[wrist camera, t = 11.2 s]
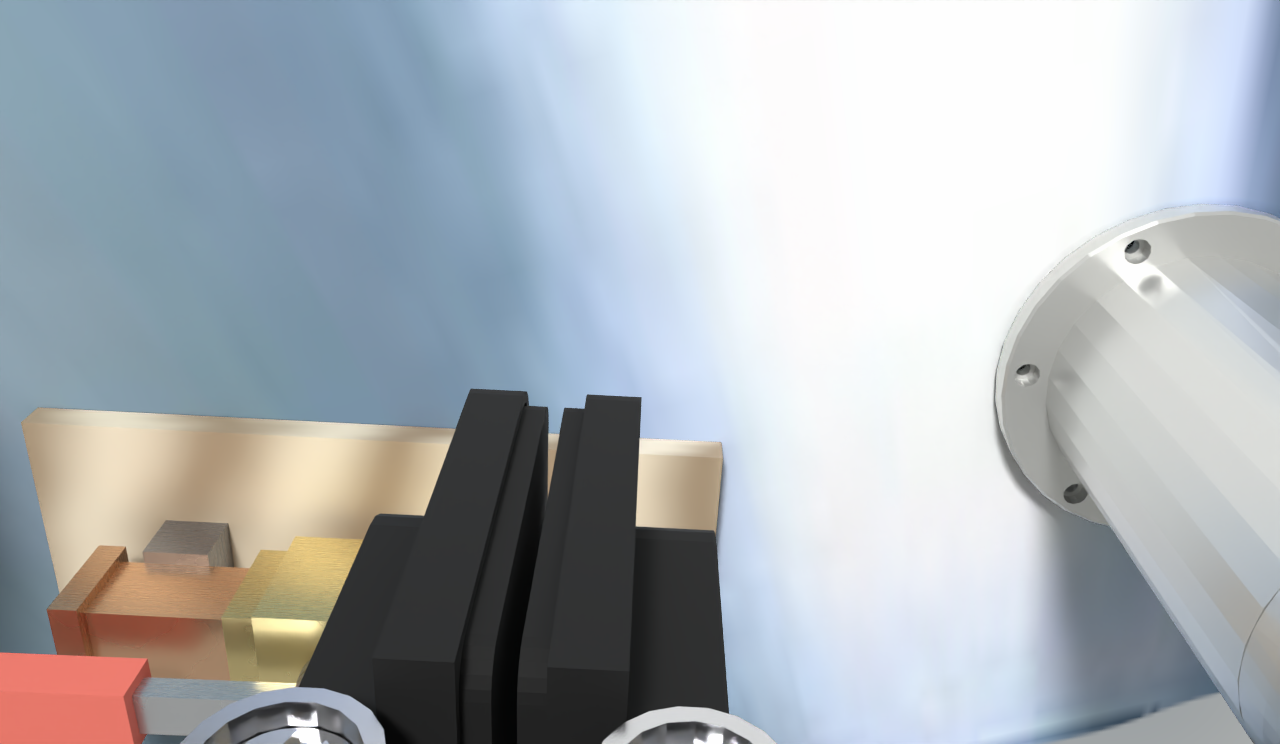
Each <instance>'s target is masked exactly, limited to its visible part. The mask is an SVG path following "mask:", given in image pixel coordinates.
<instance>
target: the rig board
mask: <svg viewBox="0 0 1280 744" xmlns="http://www.w3.org/2000/svg"><path fill="white" fill-rule="evenodd" d="M21 424H22V429H23V433H24V438H25V442H26V447H27V451H28V455H29V460H30V464H31V469H32V473H33V478H34V482H35V486H36V491H37V495H38V500H39V504H40V509H41V513H42V517H43V522H44V526H45V531H46V535H47V540H48V544H49V548H50V553H51V557H52V562H53V566H54V571H55V575H56V579H57V584H58V588H59V593H60V592H61V591H62V590H63V589H64V588H65V586H66V585H67V584H68V583H69V581H70V580H71V579H72V578H73V577H74V575H75V574H76V573H77V572H78V570H79V569H80V568H81V567H82V566H83V564H84V563H85V562H86V561H87V559H88V558H89V557H90V556H91V555H92V553H93V552H94V551H95V550H96V548H97V547H98V546H99V545H104V546H124V547H126V550H127V555H128V560H129V562H136V563H144V558H143V553H142V552H143V550H144V549H145V547H146V546H147V545H148V543H149V542H150V541H151V539H152V538H153V537H154V535H155V534H156V533H157V531H158V530H159V529H160V527H161V526H162V525H163V523H164V522H165V521H166V520H173V521H192V522H212V523H228V526H229V533H230V541H231V548H232V555H233V562H234V567H235V568H250V567H251V566H252V564H253V562H254V560H255V559H256V557H257V555H258V554H259V552H260V550H278V551H288V549H289V547H290V545H291V543H292V541H293V539H294V538H295V536H301V537H321V538H340V539H360V540H363V539H364V537H365V535H366V533H367V530H368V528H369V526H370V524H371V522H372V521H373V519H374V517H375V516H376V515H378V514H380V513H382V514H402V515H421V516H424V515H425V512H426V509H427V506H428V504H429V501H430V498H431V495H432V493H433V490H434V487H435V484H436V482H437V479H438V476H439V473H440V471H441V468H442V465H443V462H444V460H445V457H446V454H447V451H448V449H449V446H450V443H451V441H452V438H453V435H454V432H455V430H456V429H449V428H430V427H410V426H390V425H371V424H351V423H331V422H312V421H292V420H272V419H253V418H233V417H213V416H194V415H174V414H154V413H134V412H115V411H95V410H75V409H56V408H37V409H36V410H35V411H34V412H32V413H31V414H30V415H29V416H28V417H27V418H26V419H24V420H23V421H22V422H21ZM558 439H559V434H548V494H549V489H550V483H551V478H552V472H553V467H554V461H555V456H556V450H557V445H558ZM722 461H723V455H722V445H721V442H705V441H686V440H666V439H646V438H640V441H639V464H638V486H637V509H636V526H638V527H658V528H678V529H697V530H714V532H715V536H716V527H717V516H718V505H719V494H720V483H721V472H722Z"/></svg>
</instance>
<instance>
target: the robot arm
mask: <svg viewBox="0 0 1280 744" xmlns="http://www.w3.org/2000/svg"><path fill="white" fill-rule="evenodd" d="M1132 241H1134V244H1133V246H1132V247H1131V248H1129V249H1126V247H1127V245H1128V244H1129V243H1131V242H1132ZM1125 249H1126V250H1125ZM1023 365H1026V366H1025V368H1023V369H1022V370H1018V369H1019V368H1020V367H1021V366H1023ZM995 402H996V407H997V413H998V419H999V425H1000V429H1001V431H1002V434H1003V436H1004V438H1005V441H1006V443H1007V445H1008V448H1009V450H1010V452H1011V454H1012V456H1013V457H1014V459H1015V460H1016V462H1017V464H1018V465H1019V467H1020V468H1021V470H1022V472H1023V473H1024V475H1025V476H1026V477H1027V478H1028V479H1029V481H1030V482H1031V483H1032V484H1033V485H1034V486H1035V487H1036V488H1037V489H1038V490H1039V491H1040V492H1041V493H1042V495H1044V496H1045V497H1046V498H1048V499H1049V500H1050V501H1052V502H1053V503H1054V504H1056V505H1057V506H1059V507H1060V508H1062V509H1063V510H1065V511H1067V512H1069V513H1072V514H1074V515H1076V516H1079V517H1081V518H1083V519H1086V520H1088V521H1090V522H1093V523H1097V524H1101V525H1106V526H1110V527H1111V528H1112V530H1113V531H1114V533H1115V534H1116V536H1117V538H1118V539H1119V541H1120V542H1121V544H1122V545H1123V547H1124V548H1125V550H1126V551H1127V553H1128V554H1129V556H1130V557H1131V559H1132V560H1133V562H1134V563H1135V565H1136V566H1137V568H1138V569H1139V571H1140V572H1141V574H1142V575H1143V577H1144V578H1145V580H1146V581H1147V583H1148V584H1149V586H1150V588H1151V589H1152V591H1153V592H1154V594H1155V595H1156V597H1157V598H1158V600H1159V601H1160V603H1161V604H1162V606H1163V607H1164V609H1165V610H1166V612H1167V613H1168V615H1169V616H1170V618H1171V619H1172V621H1173V622H1174V624H1175V625H1176V627H1177V628H1178V630H1179V631H1180V633H1181V634H1182V636H1183V637H1184V639H1185V641H1186V642H1187V644H1188V645H1189V647H1190V648H1191V650H1192V651H1193V653H1194V654H1195V656H1196V657H1197V659H1198V660H1199V662H1200V663H1201V665H1202V666H1203V668H1204V669H1205V671H1206V672H1207V674H1208V675H1209V677H1210V678H1211V680H1212V681H1213V683H1214V684H1215V686H1216V687H1217V689H1218V691H1219V692H1220V694H1221V695H1222V696H1223V698H1224V700H1225V701H1226V702H1227V704H1228V706H1229V707H1230V709H1231V710H1232V712H1233V713H1234V714H1235V716H1236V718H1237V719H1238V721H1239V722H1240V724H1241V725H1242V727H1243V728H1244V730H1245V731H1246V733H1247V734H1248V736H1249V737H1250V739H1251V740H1252V742H1253V743H1254V744H1280V218H1278V217H1276V216H1274V215H1272V214H1269V213H1265V212H1261V211H1257V210H1253V209H1249V208H1245V207H1241V206H1237V205H1217V204H1196V205H1188V206H1180V207H1173V208H1165V209H1162V210H1159V211H1155V212H1152V213H1149V214H1145V215H1142V216H1139V217H1136V218H1132V219H1129V220H1127V221H1125V222H1123V223H1121V224H1119V225H1117V226H1115V227H1113V228H1111V229H1109V230H1107V231H1105V232H1103V233H1101V234H1099V235H1097V236H1095V237H1093V238H1092V239H1091V240H1089V241H1088V242H1086V243H1085V244H1084V245H1082V246H1081V247H1079V248H1078V249H1076V250H1075V251H1074V252H1072V253H1071V254H1069V255H1068V256H1067V257H1065V258H1064V259H1063V260H1062V261H1061V262H1060V263H1059V264H1058V265H1057V266H1056V267H1055V268H1054V269H1053V270H1052V271H1051V272H1050V273H1049V274H1048V275H1047V276H1046V277H1045V278H1044V279H1043V280H1042V281H1041V282H1040V283H1039V284H1038V285H1037V287H1036V288H1035V289H1034V291H1033V292H1032V294H1031V295H1030V296H1029V298H1028V299H1027V300H1026V302H1025V303H1024V305H1023V306H1022V307H1021V309H1020V310H1019V312H1018V314H1017V316H1016V318H1015V320H1014V322H1013V324H1012V326H1011V328H1010V330H1009V333H1008V335H1007V337H1006V339H1005V341H1004V345H1003V349H1002V352H1001V356H1000V360H999V364H998V368H997V374H996V395H995ZM640 419H641V397H623V396H604V395H587V397H586V403H585V409H577V408H564V412H563V418H562V423H561V428H560V434H559V439H558V445H557V450H556V456H555V461H554V467H553V472H552V478H551V483H550V489H549V494H548V425H549V422H548V407H538V406H529V401H528V394H527V392H525V391H505V390H486V389H471V390H470V392H469V394H468V397H467V399H466V402H465V405H464V408H463V410H462V413H461V416H460V419H459V421H458V424H457V427H456V430H455V432H454V435H453V438H452V441H451V443H450V446H449V449H448V451H447V454H446V457H445V460H444V462H443V465H442V468H441V471H440V473H439V476H438V479H437V482H436V484H435V487H434V490H433V493H432V495H431V498H430V501H429V504H428V506H427V509H426V512H425V515H424V516H421V515H402V514H382V513H380V514H378V515H376V516H375V517H374V519H373V521H372V522H371V524H370V526H369V528H368V530H367V533H366V535H365V537H364V539H363V542H362V544H361V546H360V549H359V551H358V553H357V555H356V558H355V560H354V562H353V564H352V567H351V569H350V571H349V574H348V576H347V578H346V580H345V583H344V585H343V587H342V589H341V592H340V594H339V596H338V599H337V601H336V603H335V605H334V608H333V610H332V612H331V614H330V617H329V619H328V621H327V624H326V626H325V628H324V630H323V633H322V635H321V637H320V639H319V642H318V644H317V646H316V649H315V651H314V653H313V655H312V658H311V660H310V662H309V664H308V667H307V669H306V671H305V673H304V676H303V678H302V680H301V683H300V685H299V687H291V688H285V689H279V690H272V691H266V692H261V693H258V694H255V695H253V696H250V697H247V698H245V699H242V700H239V701H237V702H234V703H231V704H229V705H228V706H226V707H224V708H223V709H221V710H220V711H218V712H216V713H215V714H213V715H212V716H210V717H208V718H207V719H205V720H203V721H202V722H201V723H200V724H199V725H198V726H197V727H196V728H195V729H194V730H193V731H192V732H191V733H190V734H189V735H188V736H187V737H186V738H185V739H184V740H183V741H182V742H181V743H180V744H777V743H776V742H775V741H774V740H773V739H772V738H771V737H770V736H769V735H768V734H767V733H765V732H764V731H763V730H761V729H759V728H758V727H756V726H754V725H752V724H750V723H749V722H747V721H745V720H743V719H741V718H740V717H738V716H734V715H731V714H729V708H728V694H727V681H726V667H725V654H724V640H723V627H722V613H721V599H720V586H719V572H718V559H717V545H716V536H715V532H714V530H697V529H678V528H658V527H638V526H636V509H637V486H638V464H639V441H640Z"/></svg>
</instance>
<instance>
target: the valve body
mask: <svg viewBox="0 0 1280 744" xmlns="http://www.w3.org/2000/svg"><path fill="white" fill-rule="evenodd" d="M362 542H363V540H360V539H340V538H321V537H301V536H295V538H294V539H293V541H292V543H291V545H290V547H289V549H288V551H278V550H260V552H259V554H258V555H257V557H256V559H255V560H254V562H253V564H252V566H251V567H250V568H235V567H234V562H233V555H232V548H231V541H230V533H229V526H228V523H212V522H192V521H173V520H166V521H165V522H164V523H163V525H162V526H161V527H160V529H159V530H158V531H157V533H156V534H155V535H154V537H153V538H152V539H151V541H150V542H149V543H148V545H147V546H146V547H145V549H144V550H143V552H142V553H143V558H144V563H136V562H129V560H128V555H127V550H126V547H124V546H104V545H99V546H98V547H97V548H96V550H95V551H94V552H93V553H92V555H91V556H90V557H89V558H88V559H87V561H86V562H85V563H84V564H83V566H82V567H81V568H80V569H79V570H78V572H77V573H76V574H75V575H74V577H73V578H72V579H71V580H70V581H69V583H68V584H67V585H66V586H65V588H64V589H63V590H62V591H61V592H60V594H59V595H58V596H57V597H56V599H55V600H54V601H53V602H52V603H51V605H50V606H49V607H48V608H47V613H48V617H49V621H50V626H51V630H52V634H53V638H54V643H55V647H56V651H57V655H71V656H96V657H121V658H145V659H148V663H149V668H150V673H151V677H152V678H176V679H200V680H225V681H250V682H274V683H296V681H297V679H298V677H299V674H300V672H301V670H302V668H303V667H304V665H305V664H306V663H307V662H308V661H309V660H311V658H312V655H313V653H314V651H315V649H316V646H317V644H318V642H319V639H320V637H321V635H322V633H323V630H324V628H325V626H326V624H327V621H328V619H329V617H330V614H331V612H332V610H333V608H334V605H335V603H336V601H337V599H338V596H339V594H340V592H341V589H342V587H343V585H344V583H345V580H346V578H347V576H348V574H349V571H350V569H351V567H352V564H353V562H354V560H355V558H356V555H357V553H358V551H359V549H360V546H361V544H362Z"/></svg>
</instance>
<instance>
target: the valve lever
mask: <svg viewBox="0 0 1280 744" xmlns="http://www.w3.org/2000/svg"><path fill="white" fill-rule="evenodd" d="M309 662H310V660H309V661H308V662H307V663H306V664H305V665H304V667H303V668H302V670H301V672H300V674H299V677H298V679H297V681H296V683H274V682H250V681H225V680H200V679H176V678H152V677H151V673H150V668H149V663H148V659H145V658H121V657H96V656H71V655H46V654H22V653H0V744H142V742H143V740H144V738H145V737H146V735H147V734H158V735H182V736H188V735H189V734H190V733H191V732H192V731H193V730H194V729H195V728H196V727H197V726H198V725H199V724H200V723H201V722H202V721H203V720H205V719H207V718H208V717H210V716H212V715H213V714H215V713H216V712H218V711H220V710H221V709H223V708H224V707H226V706H228V705H229V704H231V703H234V702H237V701H239V700H242V699H245V698H247V697H250V696H253V695H255V694H258V693H261V692H266V691H272V690H279V689H285V688H291V687H299V685H300V683H301V680H302V678H303V676H304V673H305V671H306V669H307V667H308V664H309Z"/></svg>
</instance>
